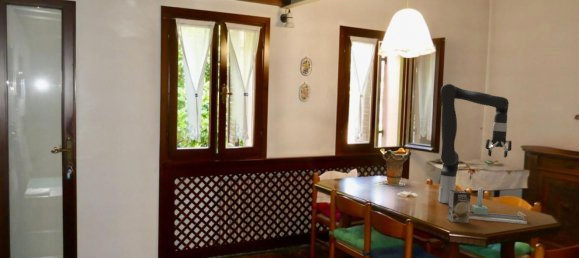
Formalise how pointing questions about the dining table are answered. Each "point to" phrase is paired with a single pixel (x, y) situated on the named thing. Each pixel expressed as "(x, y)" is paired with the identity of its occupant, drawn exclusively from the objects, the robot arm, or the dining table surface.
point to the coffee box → (459, 206)
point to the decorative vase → (395, 165)
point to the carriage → (480, 204)
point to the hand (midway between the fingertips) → (497, 156)
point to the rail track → (500, 217)
